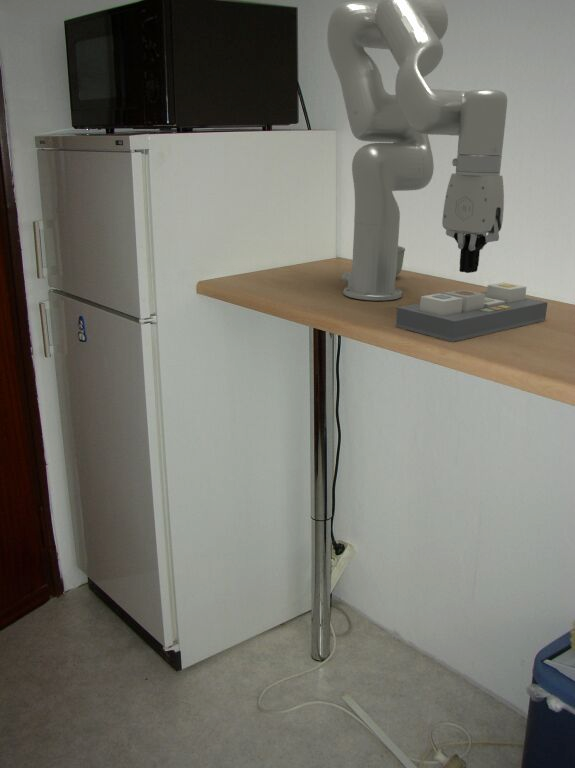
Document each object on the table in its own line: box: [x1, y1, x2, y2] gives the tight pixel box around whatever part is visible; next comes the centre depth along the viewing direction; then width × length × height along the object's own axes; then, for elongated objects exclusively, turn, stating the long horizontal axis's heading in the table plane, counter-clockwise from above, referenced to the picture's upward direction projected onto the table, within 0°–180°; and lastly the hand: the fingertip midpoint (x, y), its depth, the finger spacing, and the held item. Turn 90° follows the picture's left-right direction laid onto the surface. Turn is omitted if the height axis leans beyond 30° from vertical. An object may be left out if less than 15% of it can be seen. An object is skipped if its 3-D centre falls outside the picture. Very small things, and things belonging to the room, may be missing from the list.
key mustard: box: [486, 282, 527, 303], centre depth 148 cm, size 5×5×3 cm
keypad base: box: [395, 291, 548, 343], centre depth 142 cm, size 13×28×4 cm, turn 130°
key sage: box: [484, 297, 505, 307], centre depth 144 cm, size 5×5×3 cm
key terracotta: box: [443, 289, 485, 312], centre depth 140 cm, size 5×5×3 cm
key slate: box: [419, 293, 463, 316], centre depth 136 cm, size 5×5×3 cm
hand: (468, 271), depth 138 cm, fingers closed
